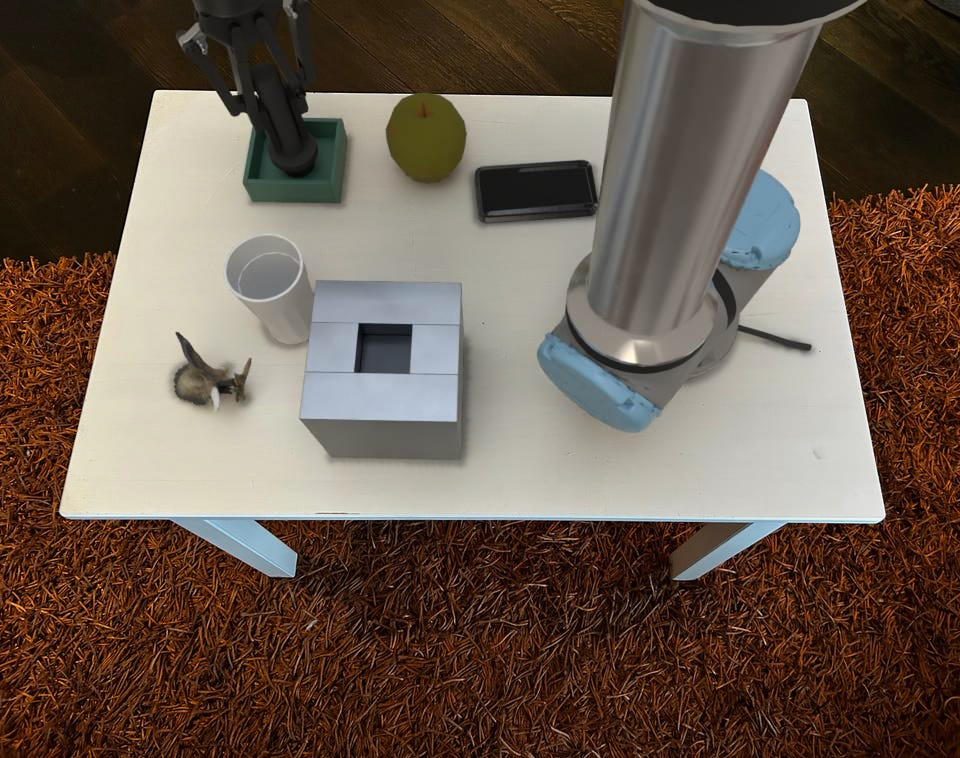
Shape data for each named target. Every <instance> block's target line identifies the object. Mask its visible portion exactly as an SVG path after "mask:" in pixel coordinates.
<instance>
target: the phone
mask: <svg viewBox="0 0 960 758" xmlns="http://www.w3.org/2000/svg"><path fill="white" fill-rule="evenodd" d="M474 183H475V194H476V204H477V216H478V218H479V220H480V221H482V222H483V223H501V222H503V223H504V222H516V221H531V220H532V221H533V220H546V219H547V220H548V219H561V218H576V217H577V218H578V217H589V216H593V215H594V214H596V213H597V210H598V202H599V198H598V193H597V188H596V183H595V177H594V171H593V166H592V164H591V163H590V161H588V160H586V159H575V160H573V159H572V160H571V159H570V160H559V161H544V162H543V161H542V162H528V163H525V162H524V163H513V164H495V165H483V166H479V167H477V168H476V169H475V172H474Z"/></svg>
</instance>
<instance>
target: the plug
mask: <svg viewBox="0 0 960 758" xmlns="http://www.w3.org/2000/svg"><path fill="white" fill-rule="evenodd" d="M250 73H251V78H252V83H253V87H254V91H255V94H256V95H257V96H258V98H259V100H260V102H261V104H262V105H263V107H264V108H265V110H266V112H267V114H268V117H269V119H270V122H271V124H272V127H273V129H274V132H275V134H276V137H277V139H278V142H279V144H280V147H281V149H282V151H281V152H279V153H277V154H276V152H275V150H274V148H273V147H272V145H271V143H270V142H269V144H268V154H269V157H270V159H271V161H272V163H273V164H274V165H275V166H276V167H277V168H279V169H281V170H283V171H285V173H286V174H287V175H289V176H291V177H294V178H301V177H304V176H307V175H308V174H310V173H311V172H312V170H313V168H314V161H315V159H316V158H317V155H318V146H317V143H316V140H315V138H314V137H313V135H312V134H311V133H309V132H308V131H307V132H308V135H309V138H310V139H309V140H307V141H304V140H303V139H302V137H301V135H300V132H299V129H298V126H297V123H296V121H295V118H294V115H293V112H292V109H291V107H290V104H289V101H288V98H287V95H286V92H285V89H284V87H283V81H282V78H281V76H280V72H279V70H278V68H277V65H275V64H274V63H271V62H269V61H268V62H267V61H262V62H258V63H256V64H255V65H253V66H252V67H251V68H250Z"/></svg>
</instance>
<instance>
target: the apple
mask: <svg viewBox="0 0 960 758" xmlns="http://www.w3.org/2000/svg"><path fill="white" fill-rule="evenodd" d="M467 135H468V132H467V127H466V122H465V119H464V118H463V116H461V114H460V112H459V111H458V110H457V108H456V107H455V105H454V104H453V102H452V101H450V100H449V99H447V98H446V97H444V96H443V95H441V94H439V93H432V92H425V91H424V92H414V93H412V94H410V95H407V96H404V97H403V98H401V99H400V100H399V102H398V103H396V105H395V106H394V107H393V109H392V112H391V115H390V117H389V119H388V122H387V124H386V127H385V137H386V143H387V144H386V145H387V148H388V151H389V152H388V153H389V155H390V157H391V159H392V160H393V161H394V163H395V164H396V166H398V167H399V169H401V171H402V172H403V173H404V174H405V175H406V176H407V177H409V178H410V179H412V180H414V182H415V181H416V182H419V183H424V184H435V183H440V182H442V181H443V180H445V179H447V178H448V177H449V176H450V175H451V174H452V173H453V172H454V171H455V170H456V168H457V167H458V166H459V164H460V163H461V161H462V159H463V157H464V153H465V150H466V149H465V148H466V142H467Z"/></svg>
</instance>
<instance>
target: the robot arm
mask: <svg viewBox="0 0 960 758" xmlns="http://www.w3.org/2000/svg"><path fill="white" fill-rule="evenodd" d="M191 1H192V4H193V5H194V21H195V23H194V24H193V25H192V26H191V27H190V28H189V29H188V30H185V29H179V30H178V31H176V33H175V37H176V40H177V42H178V43H179V45H180V48H181V49H182V51H183V53H184V54H185V56H186V57H187V58H189V59H190V60H191V61H193V62H194V63H195V64H197V65H198V66H199V67H200V68H201V70H202V71H203V73H204V74H205V77H206V78H207V79H208V81H209V83H210V84H211V87H213V89H214V91H215V92H216V94H217V96H218V97H219V99H220V100H221V102H222V104H223V105H224V107H225V109H226V110H227V111H228V113H229V116H231V117H234V118H236V117H238V116H240V115H241V114H242V113H243V114H246V115H247V118H248V120H249V122H250V124H251V126H253V127H254V129H255V131H256V132H258V133H260V132H262V131H265V133H266V135H267V138H268V140H269V141H270V143H271V145H272V147H273V148H274V150H275V152H276V154H277V153H279V152H281V151H282V149H281V147H280V144H279V142H278V139H277V137H276V134H275V132H274V129H273V127H272V124H271V122H270V119H269V117H268V114H267V112H266V110H265V108H264V107H263V105H262V104H261V102H260V100H259V98H258V95H257V94H256V91H255V88H254V85H253V83H252V78H251V73H250V70H251V68H250V65H249V61H250V58H249V54H248V50H249V49H251V48H252V47H253V46H255V45H262V44H264V45H265V46H266V48H267V49H268V51H269V54H270V55H271V57H272V59H273V60H274V62H275V64H276V67H278V69H279V71H280V73H281V75H282V76H283V78H284V80H285V82H284V83H283V82H282V84H283V87H284V89H285V92H286V95H287V98H288V101H289V104H290V107H291V109H292V112H293V115H294V118H295V121H296V123H297V126H298V129H299V132H300V135H301V137H302V139H303V140H304V141H307V140H309V139H310V138H309V135H308V132H307V129H306V126H305V123H304V120H303V118H304V117H303V115H304V114H306V113H308V112H309V104H308V102H307V99H306V98H307V92H306V90H305V88H306V87H307V86H313V85H315V84H316V83H317V80H318V77H317V72H316V66H315V59H314V55H313V48H312V42H311V37H310V29H309V26H308V25H309V24H308V22H309V16H310V12H311V3H310V2H309V1H308V0H191ZM867 1H868V0H624V6H623V12H622V19H621V20H622V21H621V29H620V36H619V44H618V51H617V60H616V66H615V73H614V80H613V81H614V82H613V89H612V96H611V105H610V110H609V111H610V112H609V118H608V127H607V133H606V141H605V150H604V151H605V152H604V155H603V156H604V158H603V165H602V172H601V179H600V180H601V181H600V188H599V194H598V207H597V210H596V216H595V217H596V218H595V226H594V232H593V240H592V248H591V251H590V253H588V254H587V255H585V256H584V257H583V259H581V261H580V262H579V263H578V265H577V266H576V268H575V269H574V270H573V273H572V275H571V276H570V279H569V283H568V285H567V290H566V298H565V310H564V311H565V312H564V315H563V317H562V319H561V320H560V321H559V323H558V324H557V325H556V326H555V327H554V328H553V329H552V331H551V332H549V331H548V332H547V333H545V335H544V337H545V338H544V339H543V340H542V342H541V343H540V344H539V345H538V348H537V351H536V358H537V361H538V364H539V367H540V368H541V370H542V371H543V372H544V374H545V375H546V377H547V378H548V379H549V380H550V381H551V383H552V384H553V385H554V386H555V387H556V388H557V389H558V390H559V392H561V393H562V394H563V395H564V396H566V398H568V399H569V400H570V401H571V402H573V403H574V404H575V405H576V406H578V407H579V408H580V409H581V410H583V411H584V412H585V413H586V414H589V415H590V416H592V417H593V418H595V419H596V420H597V421H600V422H601V423H603V424H605V425H606V426H608V427H611V428H612V429H616V430H617V431H620V432H623V433H629V434H636V433H640V432H643V431H645V430H646V429H647V428H648V427H649V426H650V425H651V424H652V423H653V422H654V421H655V420H656V418H657V417H661V416H662V415H663V413H664V411H663V410H664V409H665V408H666V407H667V405H668V404H669V403H670V402H671V400H672V399H673V398H674V396H675V395H676V394H677V393H678V391H680V389H681V388H682V386H683V385H685V383H686V381H687V380H688V379H692V378H696V377H699V376H702V375H703V374H706V373H707V372H709V371H711V370H712V369H714V368H715V367H716V366H717V365H718V364H719V363H720V362H721V361H722V360H723V359H724V358H725V357H726V356H727V354H728V353H729V351H730V350H731V348H732V347H733V345H734V342H735V340H736V337H737V334H738V332H740V333H744V334H747V335H751V336H755V337H758V338H761V339H764V340H767V341H770V342H774V343H777V344H780V345H783V346H786V347H790V348H794V349H799V350H802V351H803V350H804V351H811V349H812V347H813V345H812V344H811V343H806V342H799V341H794V340H792V339H787V338H785V337H782V336H778V335H775V334H771V333H769V332H766V331H762V330H759V329H755V328H752V327H750V326H745V325H741V324H739V322H740V315H741V313H742V311H743V310H744V309H745V308H746V307H747V305H748V304H749V303H750V302H751V300H752V299H753V298H754V296H755V295H756V294H757V293H758V291H760V289H761V288H762V286H764V284H765V283H766V281H768V279H769V278H770V277H771V275H772V274H773V273H774V272H775V271H776V270H777V268H778V267H780V266H781V265H783V264H784V263H785V262H787V259H789V257H790V255H791V254H792V249H793V248H794V246H795V245H796V243H797V241H798V238H799V236H800V231H801V215H800V212H799V210H798V208H797V207H796V205H795V200H794V197H793V196H792V194H791V193H790V192H789V190H788V189H787V188H786V187H785V185H783V184H782V183H781V182H780V181H779V180H778V179H777V178H775V176H773V175H772V174H771V173H769V172H768V171H765V170H764V169H762V164H763V162H764V160H765V158H766V156H767V153H768V151H769V148H770V146H771V144H772V142H773V139H774V138H775V136H776V132H777V131H778V128H779V126H780V123H781V121H782V119H783V118H784V114H785V112H786V110H787V108H788V105H789V103H790V101H791V99H792V96H793V94H794V92H795V90H796V87H797V85H798V83H799V80H800V79H801V75H802V74H803V71H804V68H805V67H806V65H807V62H808V60H809V57H810V55H811V53H812V50H813V48H814V46H815V44H816V42H817V39H818V37H819V34H820V32H821V30H822V27H823V25H824V24H825V23H828V22H831V21H833V20H836V19H839V18H840V17H842V16H845V15H846V14H848V13H850V12H853V11H854V10H855V9H857V8H858V7H860V6H862V5H863V4H864V3H866V2H867ZM282 9H283V10H284V12H285V14H286V15H287V20H288V26H289V30H290V31H289V32H290V36H291V40H292V45H293V50H294V55H295V61H296V66H297V69H294V68H293V67H292V64H291V63H290V61H289V58H288V57H287V55H286V53H285V52H284V50H283V47H282V45H281V43H280V41H279V39H278V37H277V35H276V33H275V29H276V27H277V24H278V21H279V18H280V15H281V12H282ZM207 37H208V38H210V39H212V40H214V41H216V42H218V43H220V44H221V45H223V46H225V47H226V50H227V53H228V58H229V62H230V65H231V71H232V74H233V78H234V83H235V85H236V90H237V91H236V94H232V92H231V91H230V89H229V87H228V85H227V83H226V82H225V80H224V78H223V77H222V75H221V73H220V72H219V70H218V69H217V67H216V65H215V63H214V62H213V60H212V58H211V57H210V55H209V54H208V53H209V51H208V50H209V44H208V43H207V40H206V38H207Z"/></svg>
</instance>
